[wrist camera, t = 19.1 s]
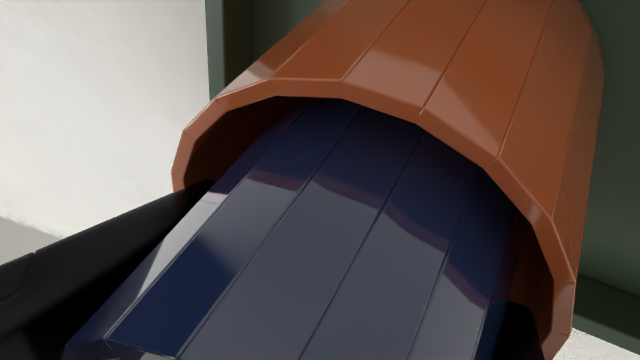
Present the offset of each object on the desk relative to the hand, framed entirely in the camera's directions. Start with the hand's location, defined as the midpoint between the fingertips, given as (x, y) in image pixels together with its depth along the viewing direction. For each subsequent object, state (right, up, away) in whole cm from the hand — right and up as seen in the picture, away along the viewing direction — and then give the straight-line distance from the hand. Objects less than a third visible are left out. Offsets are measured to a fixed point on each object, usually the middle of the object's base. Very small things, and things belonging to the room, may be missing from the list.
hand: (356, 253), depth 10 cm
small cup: (+1, +1, +1) cm, 2 cm away
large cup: (+3, +4, +5) cm, 7 cm away
